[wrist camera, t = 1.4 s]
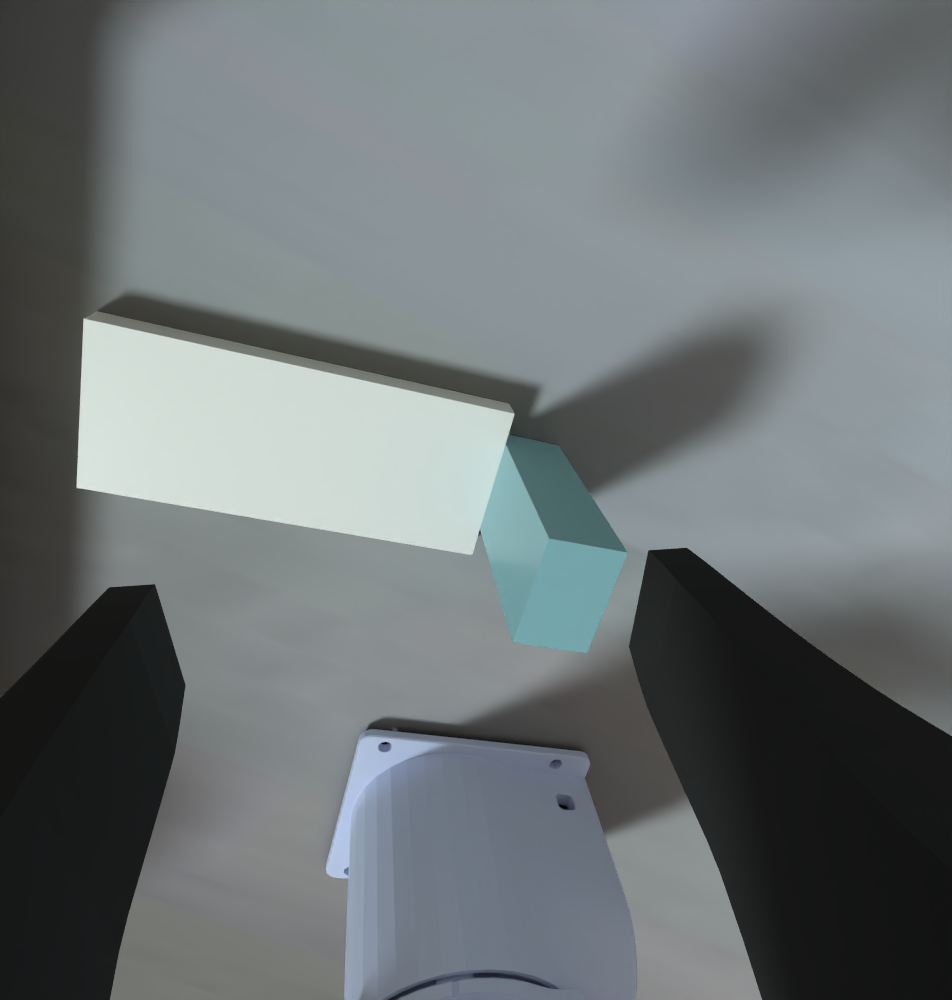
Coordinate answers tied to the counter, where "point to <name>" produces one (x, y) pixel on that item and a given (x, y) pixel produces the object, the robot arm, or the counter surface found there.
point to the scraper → (345, 463)
